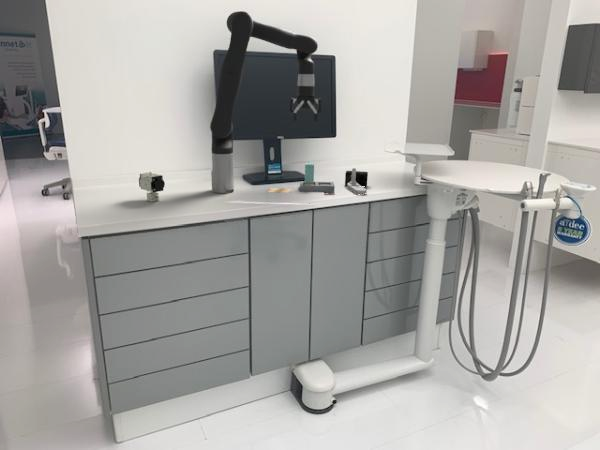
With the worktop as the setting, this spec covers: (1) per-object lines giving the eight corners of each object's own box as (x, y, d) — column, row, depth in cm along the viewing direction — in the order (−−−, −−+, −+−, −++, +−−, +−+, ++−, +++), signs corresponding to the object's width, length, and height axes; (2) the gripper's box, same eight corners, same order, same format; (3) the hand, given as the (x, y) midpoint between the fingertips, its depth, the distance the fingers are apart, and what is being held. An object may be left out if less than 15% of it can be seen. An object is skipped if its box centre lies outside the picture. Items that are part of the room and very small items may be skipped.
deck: (267, 194, 211) (267, 192, 211) (268, 190, 219) (268, 188, 218) (289, 194, 211) (289, 192, 211) (290, 190, 218) (290, 188, 218)
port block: (299, 193, 214) (299, 184, 213) (299, 188, 223) (300, 180, 222) (334, 193, 214) (334, 185, 213) (333, 189, 223) (333, 181, 222)
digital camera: (344, 186, 229) (345, 172, 227) (345, 184, 234) (346, 170, 232) (366, 188, 227) (367, 173, 225) (367, 185, 232) (367, 171, 230)
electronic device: (358, 175, 210) (346, 167, 223) (356, 196, 213) (345, 188, 226) (369, 174, 211) (357, 167, 225) (367, 196, 214) (355, 187, 228)
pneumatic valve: (149, 197, 201) (147, 169, 198) (166, 202, 194) (164, 173, 191) (138, 199, 197) (135, 171, 194) (154, 204, 190) (152, 175, 187)
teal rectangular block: (304, 190, 216) (305, 164, 213) (304, 188, 220) (305, 163, 217) (313, 191, 216) (314, 164, 213) (313, 189, 220) (313, 163, 217)
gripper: (289, 84, 211) (289, 122, 215) (322, 85, 211) (320, 123, 215) (290, 84, 218) (289, 120, 223) (321, 85, 218) (320, 121, 223)
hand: (305, 121), depth 219 cm, fingers open, 8 cm apart
